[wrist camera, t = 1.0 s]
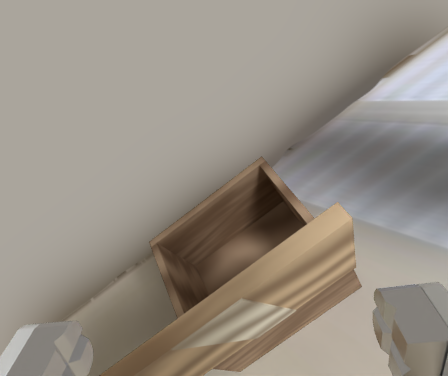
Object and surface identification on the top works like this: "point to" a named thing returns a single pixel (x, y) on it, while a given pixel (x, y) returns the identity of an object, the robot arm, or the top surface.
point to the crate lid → (249, 301)
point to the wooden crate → (239, 251)
